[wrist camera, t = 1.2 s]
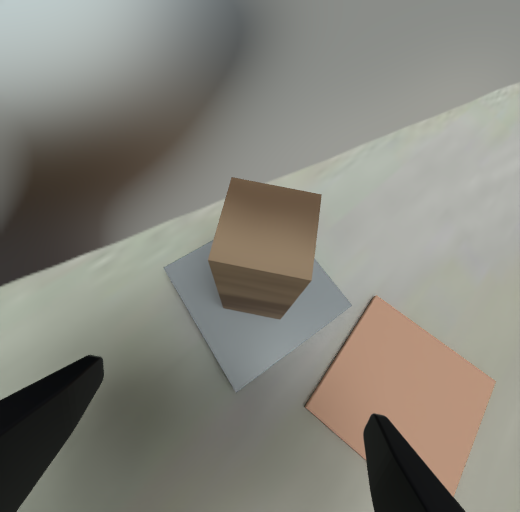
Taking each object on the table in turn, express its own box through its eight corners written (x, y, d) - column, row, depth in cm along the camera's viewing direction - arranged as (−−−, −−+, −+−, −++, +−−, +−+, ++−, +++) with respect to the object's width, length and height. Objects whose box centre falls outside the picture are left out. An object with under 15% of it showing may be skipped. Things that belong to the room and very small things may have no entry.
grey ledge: (343, 310, 23) (352, 305, 21) (236, 390, 20) (235, 392, 18) (270, 218, 26) (273, 206, 24) (169, 275, 23) (163, 267, 21)
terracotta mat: (437, 522, 18) (442, 526, 17) (304, 406, 20) (306, 407, 19) (490, 381, 21) (495, 381, 21) (373, 296, 24) (376, 295, 23)
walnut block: (280, 319, 20) (311, 280, 11) (223, 308, 20) (207, 259, 11) (288, 266, 22) (321, 194, 13) (236, 255, 22) (231, 177, 13)
